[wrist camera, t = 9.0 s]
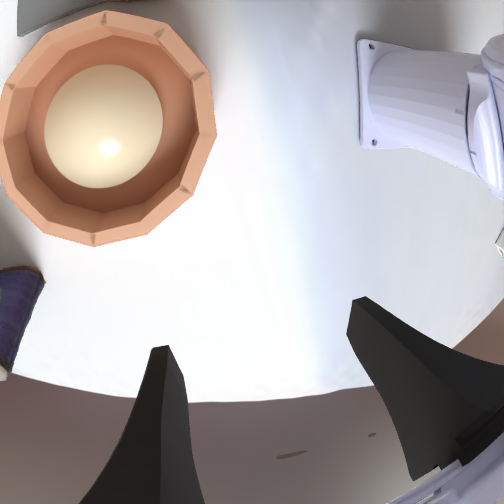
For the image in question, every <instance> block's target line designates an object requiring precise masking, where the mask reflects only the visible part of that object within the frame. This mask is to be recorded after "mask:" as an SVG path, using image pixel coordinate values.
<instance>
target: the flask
mask: <svg viewBox="0 0 504 504" xmlns="http://www.w3.org/2000/svg"><path fill="white" fill-rule="evenodd" d="M45 283H46V281H44V278H43V276H42V274H41V272H39V271H38V270H37V269H36V268H33V267H31V266H29V267H27V266H18V267H11V268H5V269H3V270H0V381H5V380H7V379H8V377H9V376H10V375H11V372H12V368H13V365H14V360H15V358H16V355H17V352H18V349H19V345H20V342H21V339H22V337H23V334H24V331H25V328H26V326H27V324H28V322H29V320H30V318H31V315H32V311H33V309H34V306H35V304H36V302H37V299H38V297H39V295H40V293H41V291H42V290H43V288H44V284H45Z"/></svg>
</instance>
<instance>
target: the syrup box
mask: <svg viewBox="0 0 504 504" xmlns="http://www.w3.org/2000/svg"><path fill="white" fill-rule="evenodd" d="M495 245H496V246H497V248H498V250H499V252H500V254H501V256H502V257H503V258H504V229H503V231H502V232H501V234H500V236H499V238H498V240H497V242H496V243H495Z"/></svg>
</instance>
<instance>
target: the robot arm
mask: <svg viewBox="0 0 504 504" xmlns="http://www.w3.org/2000/svg"><path fill="white" fill-rule="evenodd" d="M369 44H370V45H371V47H372V49H370V48H369ZM357 53H358V67H359V87H360V144H361V146H362V147H363V148H365V149H387V148H414V149H417V150H419V151H422V152H424V153H427V154H429V155H431V156H434V157H436V158H438V159H441V160H443V161H445V162H447V163H450V164H452V165H454V166H456V167H458V168H460V169H462V170H464V171H466V172H468V173H470V174H472V175H474V176H476V177H478V178H480V179H482V180H484V181H485V182H487V184H488V185H489V189H490V193H491V194H492V195H494V196H496V197H497V198H499V199H501V200H502V201H504V34H501V35H498V36H495V37H493V38H491V39H490V40H489V41H488V43H487V44H486V46H485V47H484V48H483V49H482V51H481V55H477V54H469V53H458V52H444V51H419V50H415V49H411V48H407V47H403V46H398V45H394V44H389V43H384V42H379V41H374V40H368V39H360V40H358V42H357ZM373 139H374V143H373V144H372V143H371V142H372V140H373ZM346 335H347V337H348V339H349V341H350V344H351V346H352V348H353V350H354V352H355V354H356V356H357V358H358V359H359V361H360V363H361V364H362V366H363V368H364V369H365V371H366V372H367V374H368V376H369V377H370V379H371V380H372V382H373V384H374V385H375V387H376V389H377V390H378V392H379V393H380V395H381V397H382V399H383V401H384V403H385V405H386V407H387V409H388V411H389V414H390V416H391V418H392V421H393V423H394V426H395V428H396V431H397V433H398V436H399V439H400V442H401V445H402V448H403V451H404V454H405V458H406V462H407V466H408V470H409V474H410V476H411V478H412V480H413V481H415V480H417V479H418V478H420V477H422V476H423V475H425V474H427V473H428V472H430V471H432V470H433V469H435V468H436V467H438V466H439V467H440V469H441V471H440V472H438V473H437V474H435V475H434V476H432V477H431V478H429V479H428V480H426V481H425V482H423V483H421V484H420V485H418V486H416V487H415V488H413V489H411V490H410V491H408V492H406V493H404V494H403V495H401V496H399V497H397V498H396V499H394V500H392V501H390V502H388V503H386V504H416V503H417V502H419V501H421V500H422V499H424V498H425V497H427V496H428V495H430V494H431V493H433V492H434V495H433V496H432V497H430V498H428V499H426V500H424V501H422V502H420V503H418V504H496V503H497V502H498V500H499V499H500V498H501V497H502V495H503V494H504V366H503V365H498V364H494V363H490V362H486V361H483V360H479V359H476V358H473V357H470V356H468V355H465V354H463V353H460V352H458V351H455V350H453V349H451V348H449V347H447V346H445V345H443V344H440V343H438V342H436V341H435V340H433V339H431V338H429V337H427V336H426V335H424V334H422V333H421V332H419V331H417V330H416V329H414V328H412V327H411V326H409V325H408V324H406V323H405V322H403V321H402V320H400V319H399V318H397V317H396V316H394V315H393V314H391V313H390V312H388V311H387V310H385V309H384V308H382V307H381V306H379V305H378V304H377V303H375V302H374V301H372V300H371V299H369V298H367V297H366V296H365V297H361V298H358V299H355V300H353V301H352V307H351V312H350V318H349V323H348V328H347V333H346ZM79 504H205V503H204V499H203V496H202V493H201V489H200V485H199V481H198V478H197V474H196V469H195V465H194V461H193V455H192V449H191V437H190V426H189V413H188V399H187V394H186V388H185V382H184V377H183V374H182V372H181V370H180V368H179V366H178V364H177V362H176V360H175V358H174V356H173V353H172V351H171V349H170V347H169V345H166V346H160V347H154V348H152V350H151V353H150V357H149V360H148V364H147V367H146V371H145V374H144V377H143V381H142V384H141V387H140V389H139V392H138V395H137V398H136V401H135V404H134V406H133V409H132V412H131V414H130V417H129V419H128V422H127V424H126V426H125V429H124V431H123V433H122V436H121V437H120V440H119V442H118V444H117V446H116V447H115V449H114V451H113V453H112V455H111V457H110V459H109V461H108V462H107V464H106V466H105V467H104V469H103V470H102V472H101V474H100V475H99V477H98V478H97V480H96V481H95V483H94V484H93V486H92V487H91V489H90V490H89V491H88V492H87V494H86V495H85V496H84V498H83V499H82V500H81V501H80V503H79Z"/></svg>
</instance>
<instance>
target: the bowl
mask: <svg viewBox="0 0 504 504" xmlns="http://www.w3.org/2000/svg"><path fill="white" fill-rule="evenodd" d="M216 137H217V131H216V124H215V116H214V108H213V100H212V92H211V84H210V76H209V70H208V69H207V68H206V67H205V66H204V64H203V63H202V62H201V61H200V60H199V59H198V57H197V56H196V55H195V54H194V53H193V52H192V50H191V49H190V48H189V47H188V46H187V45H186V44H185V42H184V41H183V40H182V39H181V38H180V37H179V36H178V35H177V33H176V32H175V31H174V30H173V29H172V28H171V27H170V26H169V25H168V24H167V23H164V22H160V21H156V20H152V19H148V18H144V17H140V16H135V15H130V14H125V13H120V12H115V11H109V10H105V11H101V12H98V13H95V14H92V15H90V16H87V17H84V18H81V19H79V20H76V21H73V22H71V23H68V24H66V25H64V26H61V27H59V28H57V29H54V30H52V31H50V32H48V33H46V34H45V35H44V36H43V37H42V38H41V39H40V40H39V41H38V42H37V43H36V44H35V46H34V47H33V48H32V49H31V50H30V51H29V53H28V54H27V55H26V56H25V57H24V59H23V60H22V61H21V62H20V63H19V65H18V66H17V67H16V69H15V70H14V71H13V72H12V74H11V75H10V76H9V78H8V79H7V81H6V82H5V84H4V87H3V91H2V95H1V99H0V175H1V178H2V182H3V185H4V188H5V191H6V194H7V196H8V197H9V198H10V199H11V201H12V202H13V203H14V204H15V205H16V206H17V207H18V208H19V209H20V210H21V211H22V212H23V213H24V214H25V215H26V216H27V217H28V218H29V219H30V220H31V221H32V222H33V223H34V224H35V225H36V226H37V227H38V228H39V229H40V230H41V231H42V232H43V233H46V234H49V235H52V236H56V237H59V238H63V239H67V240H70V241H74V242H77V243H81V244H84V245H88V246H92V247H96V246H100V245H104V244H108V243H113V242H117V241H121V240H125V239H130V238H134V237H138V236H143V235H147V234H148V233H150V232H151V231H152V230H153V229H154V228H155V227H156V226H157V225H159V224H160V223H161V222H162V221H163V220H164V219H165V218H167V217H168V216H169V215H170V214H171V213H172V212H174V211H175V210H176V209H177V208H178V207H179V206H181V205H182V204H183V203H184V202H185V201H186V200H188V199H189V198H190V197H191V196H192V195H193V194H194V191H195V188H196V186H197V183H198V181H199V178H200V176H201V173H202V171H203V168H204V166H205V163H206V161H207V158H208V156H209V153H210V151H211V149H212V146H213V144H214V141H215V139H216Z"/></svg>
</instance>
